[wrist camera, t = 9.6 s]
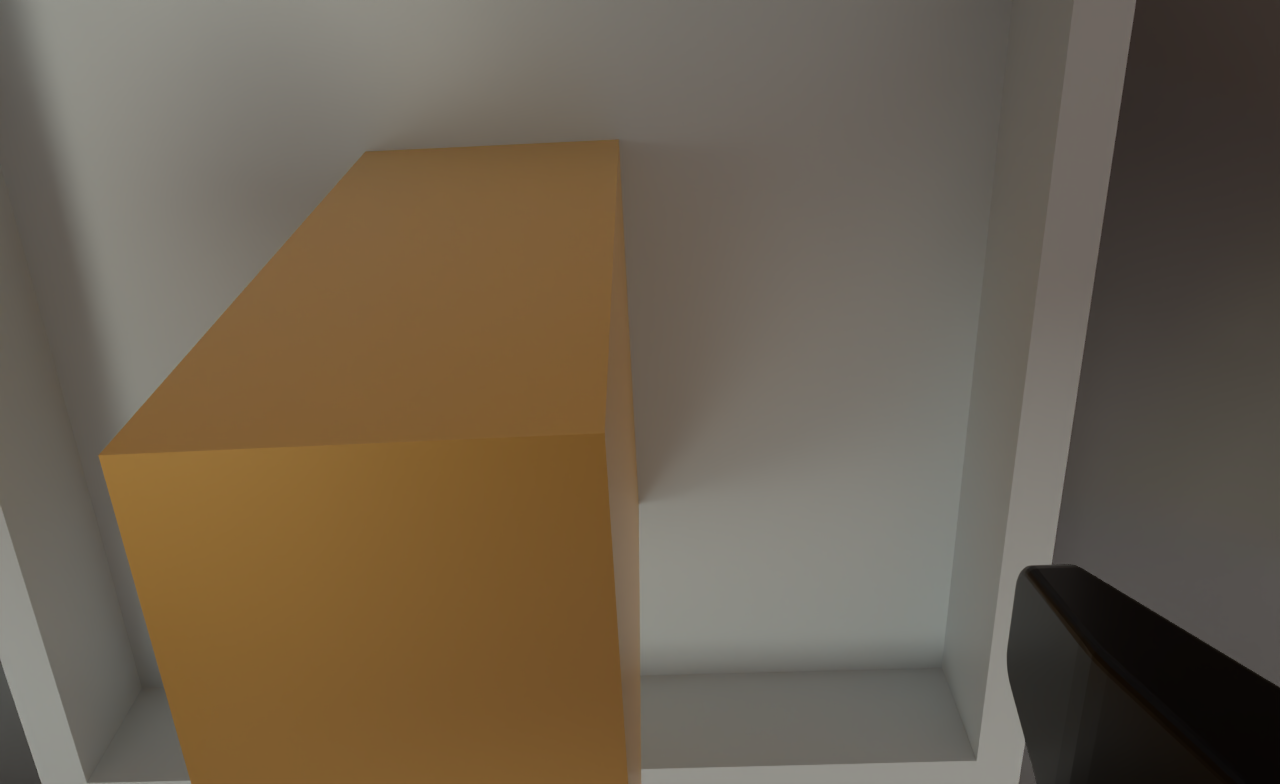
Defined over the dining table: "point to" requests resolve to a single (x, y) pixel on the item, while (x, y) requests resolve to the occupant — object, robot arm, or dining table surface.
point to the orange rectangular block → (405, 488)
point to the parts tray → (658, 326)
